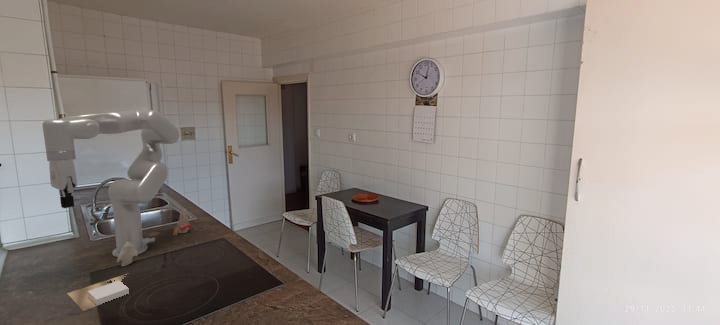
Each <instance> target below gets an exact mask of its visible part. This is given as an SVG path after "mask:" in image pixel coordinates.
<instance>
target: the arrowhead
mask: <svg viewBox="0 0 720 325" xmlns="http://www.w3.org/2000/svg"><path fill="white" fill-rule="evenodd" d="M138 255H139V254H138V253H137V251H136V249H135V248H134V246H133V245H132V244H131V243H130V242H127V243H126V244H125V245H124V247H123V248H122V249H121V251H120V254H119V256H118V257H116V258H117V259H116V263H119V262H120V261H121V267H125V266H128V265H131V264H132V263H133V258H134V257H138Z"/></svg>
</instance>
